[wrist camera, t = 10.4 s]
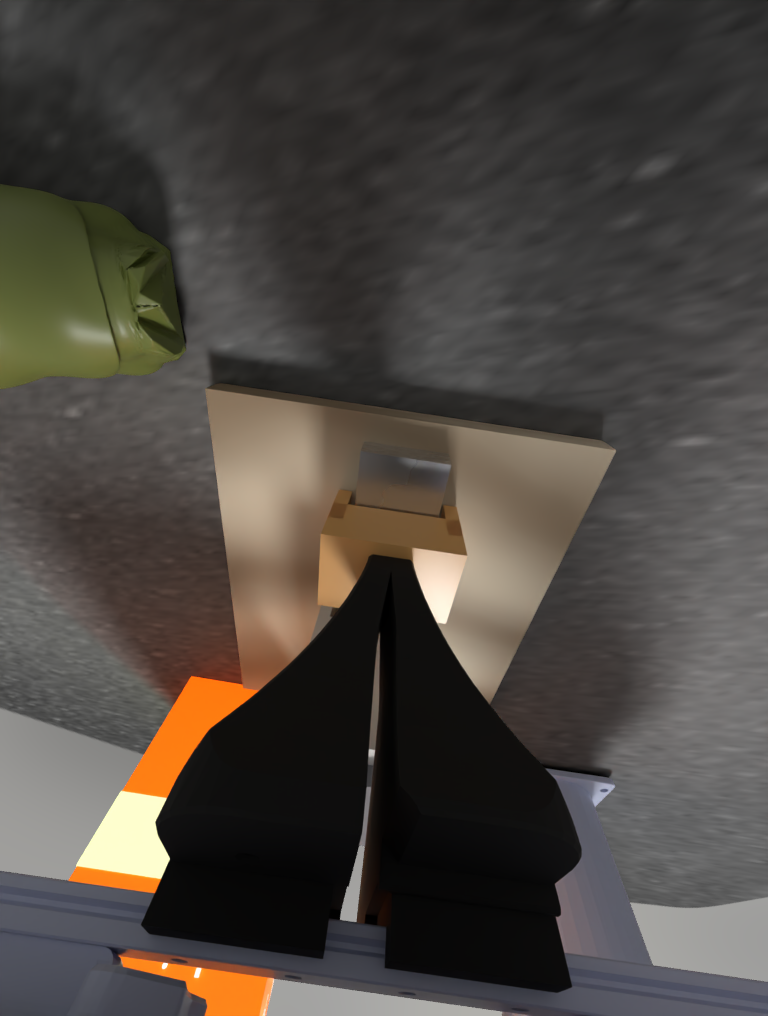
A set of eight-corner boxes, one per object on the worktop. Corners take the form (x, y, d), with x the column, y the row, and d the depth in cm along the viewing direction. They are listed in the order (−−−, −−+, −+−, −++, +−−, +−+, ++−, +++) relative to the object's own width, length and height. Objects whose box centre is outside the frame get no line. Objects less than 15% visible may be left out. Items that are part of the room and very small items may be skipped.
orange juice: (189, 674, 22) (-706, 2146, 4) (329, 697, 22) (9, 2197, 4) (202, 738, 26) (-238, 1640, 8) (320, 758, 26) (132, 1680, 8)
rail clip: (439, 567, 15) (445, 623, 12) (334, 552, 15) (317, 604, 12) (456, 506, 13) (467, 555, 10) (339, 489, 13) (320, 534, 10)
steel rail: (389, 699, 20) (388, 717, 19) (337, 692, 20) (334, 709, 19) (448, 453, 12) (451, 464, 11) (364, 441, 12) (360, 451, 11)
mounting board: (477, 706, 21) (480, 723, 20) (250, 672, 21) (243, 688, 20) (602, 440, 13) (616, 450, 12) (219, 382, 12) (205, 388, 12)
